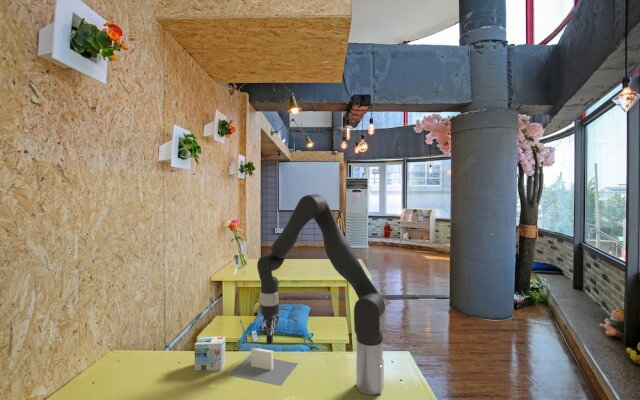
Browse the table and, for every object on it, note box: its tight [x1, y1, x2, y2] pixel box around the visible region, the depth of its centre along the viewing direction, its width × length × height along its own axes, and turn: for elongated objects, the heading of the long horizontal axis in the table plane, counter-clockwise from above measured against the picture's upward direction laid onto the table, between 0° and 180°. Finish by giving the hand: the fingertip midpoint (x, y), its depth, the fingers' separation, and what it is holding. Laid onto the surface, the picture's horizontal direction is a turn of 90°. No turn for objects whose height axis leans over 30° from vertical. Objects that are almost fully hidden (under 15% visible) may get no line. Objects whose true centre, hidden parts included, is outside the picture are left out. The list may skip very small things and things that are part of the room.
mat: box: [228, 354, 299, 387], centre depth 131 cm, size 22×16×1 cm
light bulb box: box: [194, 336, 226, 372], centre depth 134 cm, size 11×7×11 cm, turn 93°
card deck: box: [250, 347, 274, 370], centre depth 132 cm, size 9×2×7 cm, turn 71°
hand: (269, 343), depth 140 cm, fingers closed
